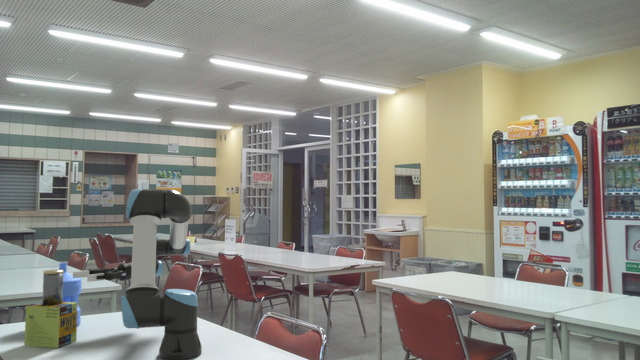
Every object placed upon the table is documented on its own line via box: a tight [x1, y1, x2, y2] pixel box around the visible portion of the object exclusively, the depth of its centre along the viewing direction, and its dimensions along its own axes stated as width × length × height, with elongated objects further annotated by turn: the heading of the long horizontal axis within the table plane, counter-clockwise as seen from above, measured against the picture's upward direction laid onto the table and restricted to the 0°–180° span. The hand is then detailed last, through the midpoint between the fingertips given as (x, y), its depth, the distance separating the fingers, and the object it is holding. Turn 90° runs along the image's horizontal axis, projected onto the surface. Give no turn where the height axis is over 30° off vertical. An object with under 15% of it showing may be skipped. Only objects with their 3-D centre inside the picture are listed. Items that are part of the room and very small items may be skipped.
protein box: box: [24, 301, 78, 349], centre depth 195 cm, size 10×15×16 cm
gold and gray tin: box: [41, 269, 64, 306], centre depth 196 cm, size 7×7×13 cm
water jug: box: [58, 262, 83, 327], centre depth 223 cm, size 16×16×28 cm
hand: (80, 276), depth 204 cm, fingers open, 13 cm apart
